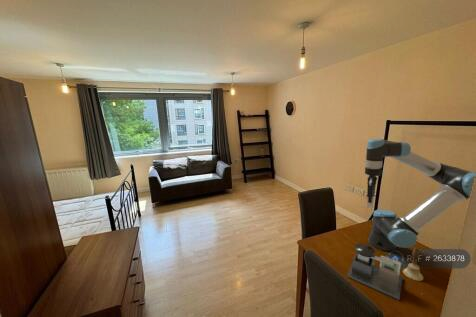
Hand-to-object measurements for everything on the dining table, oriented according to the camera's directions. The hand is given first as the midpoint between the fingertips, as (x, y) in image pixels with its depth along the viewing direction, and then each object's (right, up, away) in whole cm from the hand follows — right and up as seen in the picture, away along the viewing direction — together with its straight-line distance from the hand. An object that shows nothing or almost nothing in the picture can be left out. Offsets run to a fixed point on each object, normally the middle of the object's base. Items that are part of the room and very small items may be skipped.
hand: (369, 207), depth 114 cm
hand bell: (+17, -34, -8) cm, 39 cm away
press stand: (-4, -35, -9) cm, 37 cm away
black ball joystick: (-5, -29, -9) cm, 31 cm away
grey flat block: (-1, -27, -16) cm, 31 cm away
